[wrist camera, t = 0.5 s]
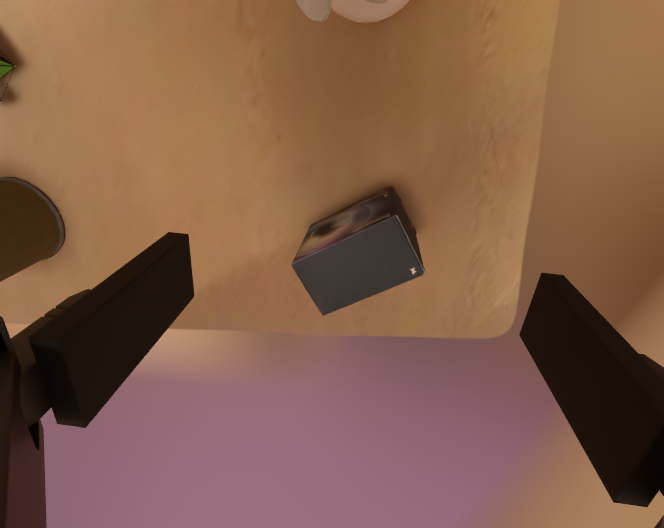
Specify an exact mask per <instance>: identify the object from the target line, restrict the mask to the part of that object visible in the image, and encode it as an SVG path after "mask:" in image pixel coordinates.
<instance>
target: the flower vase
mask: <svg viewBox="0 0 664 528" xmlns="http://www.w3.org/2000/svg"><path fill="white" fill-rule="evenodd" d="M408 1H409V0H296V2H297V5H298V6H299V7H300V9H301V11H302V12H303V13H304V14H305V15H306V16H307V17H308V18H310V19H312V20H313V21H319V22H321V21H324V20H326V19H327V17H328V16H329V14H330V12H331V9H332V10H333V11H334V12H335V13H337V14H338V15H340V16H342V17H343V18H345V19H347V20H350V21H354V22H358V23H375V22H378V21H381V20H384V19H386V18H389V17H391V16H392V15H394V14H395V13H396V12H398V11H399V10H401V9H402V8H403V7H404V6H405V5H406V4H407V3H408Z"/></svg>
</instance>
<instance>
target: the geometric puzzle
mask: <svg viewBox="0 0 664 528" xmlns="http://www.w3.org/2000/svg"><path fill="white" fill-rule="evenodd" d="M1 52H2V51H1ZM2 53H3V52H2ZM3 54H4V53H3ZM0 58H2V57H0ZM2 59H3V58H2ZM3 60H5V59H3ZM5 61H6V60H5ZM9 61H10V60H9ZM6 62H8V61H6ZM10 62H11V61H10ZM10 62H8V63H10ZM8 63H5V62H2V61H0V78H1V77H2V76H4V75H5V74H6V73H7V72H9V71H10V70H11V69H12V68H14V67H16V66H15V65H13V64H11V63H12V62H11V63H10V64H11V65H10V64H8ZM13 70H14V69H13ZM11 75H12V74H11ZM9 80H10V79H9ZM7 85H8V84H7ZM6 88H7V87H6ZM5 90H6V89H5ZM4 93H5V92H4ZM2 98H3V97H2ZM0 103H1V100H0Z"/></svg>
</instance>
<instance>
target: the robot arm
mask: <svg viewBox="0 0 664 528" xmlns="http://www.w3.org/2000/svg"><path fill="white" fill-rule="evenodd" d="M193 297H194V287H193V277H192V267H191V257H190V247H189V237H188V234H182V233H172V232H168V233H167V234H166V235H164V236H163V237H162V238H160V239H159V240H158V241H156V242H155V243H154V244H152V245H151V246H150V247H148V248H147V249H145V250H144V251H143V252H141V253H140V254H139V255H137V256H136V257H135V258H133V259H132V260H131V261H129V262H128V263H127V264H125V265H124V266H123V267H121V268H120V269H119V270H117V271H116V272H115V273H113V274H112V275H111V276H109V277H108V278H107V279H105V280H104V281H103V282H101V283H100V284H99V285H97V286H96V287H95V288H93V289H92V290H90V289H87V290H84V291H82V292H80V293H77V294H75V295H73V296H70V297H68V298H67V299H66V300H64V301H63V302H61V303H60V304H59V305H57V306H56V308H55V309H54V308H53V309H52V310H50V311H49V312H48V313H46V314H45V316H44V317H41V318H39V319H38V320H36V321H35V322H34V323H32V324H31V325H29V326H28V327H27V328H25V329H24V330H22V331H21V332H20V333H18V334H17V335H15V336H14V337H13V338H11V339H10V337H9V334H8V331H7V328H6V326H5V323H4V320H3V318H2V317H1V316H0V528H46V497H45V467H44V435H43V426H42V424H41V421H40V418H41V417H42V416H43V415H44V414H45V413H46V412H47V411H48V410H49V409H50V408H51V407H52V410H53V413H54V416H55V418H56V421H57V424H62V425H69V426H77V427H83V428H86V427H87V426H88V424H89V423H90V422H91V421H92V419H93V418H94V417H95V416H96V415H97V413H98V412H99V411H100V410H101V409H102V407H103V406H104V405H105V404H106V403H107V401H108V400H109V399H110V398H111V396H112V395H113V394H114V393H115V392H116V390H117V389H118V388H119V387H120V386H121V384H122V383H123V382H124V381H125V380H126V378H127V377H128V376H129V375H130V374H131V372H132V371H133V370H134V368H135V367H136V366H137V365H138V364H139V363H140V361H141V360H142V359H143V358H144V356H145V355H146V354H147V353H148V352H149V350H150V349H151V348H152V347H153V346H154V344H155V343H156V342H157V341H158V340H159V339H160V337H161V336H162V335H163V334H164V332H165V331H166V330H167V329H168V328H169V326H170V325H171V324H172V323H173V322H174V320H175V319H176V318H177V317H178V316H179V314H180V313H181V312H182V311H183V310H184V308H185V307H186V306H187V305H188V303H189V302H190V301H191V300H192V299H193ZM520 337H521V339H522V340H523V342H524V344H525V346H526V348H527V349H528V351H529V353H530V355H531V356H532V358H533V360H534V362H535V363H536V365H537V367H538V369H539V371H540V372H541V374H542V376H543V378H544V380H545V381H546V383H547V385H548V386H549V388H550V390H551V392H552V393H553V395H554V397H555V399H556V401H557V403H558V404H559V406H560V408H561V410H562V412H563V413H564V415H565V417H566V419H567V420H568V422H569V424H570V425H571V428H572V429H573V431H574V433H575V434H576V436H577V438H578V440H579V442H580V444H581V445H582V447H583V449H584V451H585V452H586V454H587V456H588V457H589V459H590V461H591V463H592V465H593V467H594V468H595V470H596V472H597V474H598V475H599V477H600V479H601V481H602V482H603V484H604V486H605V488H606V490H607V491H608V493H609V495H610V497H611V499H612V500H613V502H615V503H622V504H629V505H636V506H643V507H648V505H649V504H650V502H651V501H652V499H653V498H654V497H655V495H656V494H657V493H658V491H659V490H660V492H661V493H662V495H663V496H664V367H662V366H660V365H659V364H658V363H656V362H655V361H653V360H652V359H650V358H649V357H647V356H646V355H644V354H638V353H637V352H636V351H635V350H634V349H633V348H632V347H631V345H630V344H629V343H628V342H627V341H626V340H625V339H624V338H623V337H622V336H621V335H620V334H619V333H618V332H617V331H616V330H615V329H614V328H613V327H612V326H611V325H610V323H609V322H608V321H607V320H606V319H605V318H604V317H603V316H602V315H601V314H600V313H599V312H598V311H597V310H596V309H595V308H594V307H593V306H592V305H591V304H590V303H589V301H588V300H587V299H586V298H585V297H584V296H583V295H582V294H581V293H580V292H579V291H578V290H577V289H576V288H575V287H574V286H573V285H572V284H571V283H570V282H569V281H568V280H567V278H566V277H565V276H564V275H557V274H548V273H541V276H540V278H539V281H538V284H537V287H536V290H535V293H534V295H533V298H532V301H531V304H530V307H529V309H528V312H527V315H526V318H525V320H524V323H523V326H522V329H521V332H520ZM655 528H664V516H663V517H662V518H661V520H660V521H659V522H658V524H657V525H656V526H655Z"/></svg>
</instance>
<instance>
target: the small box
mask: <svg viewBox="0 0 664 528" xmlns="http://www.w3.org/2000/svg"><path fill="white" fill-rule="evenodd" d="M292 267H293V269H294V270H295V272H296V274H297V276H298V277H299V279H300V280H301V282H302V284H303V285H304V287H305V289H306V290H307V292H308V293H309V295H310V296H311V298H312V300H313V301H314V303H315V304H316V306H317V307H318V309H319V311H320V312H321V314H322V315H323V316H324V315H326V314H329V313H331V312H334V311H336V310H339V309H341V308H343V307H346V306H348V305H351V304H353V303H356V302H358V301H361V300H363V299H366V298H368V297H371V296H373V295H375V294H378V293H380V292H383V291H385V290H388V289H390V288H393V287H395V286H397V285H400V284H402V283H405V282H407V281H410V280H412V279H414V278H417V277H419V276H422V275H424V274H425V269H424V266H423V262H422V258H421V254H420V249H419V245H418V241H417V237H416V231H415V228H414V227H413V226H412V224H411V221H410V219H409V218H408V216H407V214H406V211H405V209H404V207H403V205H402V203H401V199H400V197H399V196H398V194H397V192H396V191H395V189H394V187H389V188H387V189H385V190H383V191H381V192H379V193H377V194H375V195H373V196H371V197H369V198H367V199H364V200H362V201H360V202H358V203H356V204H354V205H352V206H350V207H348V208H346V209H344V210H342V211H340V212H338V213H336V214H334V215H332V216H330V217H328V218H325V219H323V220H321V221H319V222H317V223H315V224H313V225H311V226H310V227H309V229H308V231H307V233H306V236H305V238H304V240H303V242H302V244H301V246H300V248H299V250H298V252H297V254H296V256H295V258H294V260H293V262H292Z"/></svg>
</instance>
